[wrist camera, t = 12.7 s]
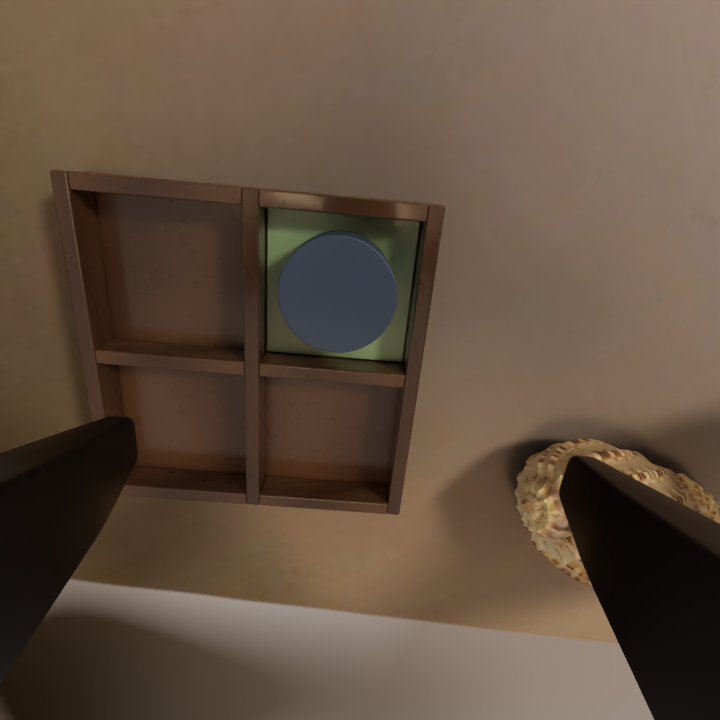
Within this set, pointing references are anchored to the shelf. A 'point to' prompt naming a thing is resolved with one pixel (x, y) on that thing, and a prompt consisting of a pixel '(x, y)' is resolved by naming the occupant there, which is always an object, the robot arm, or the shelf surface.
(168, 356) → the grid
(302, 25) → the shelf surface
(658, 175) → the shelf surface
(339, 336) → the short blue cylinder
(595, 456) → the seashell
